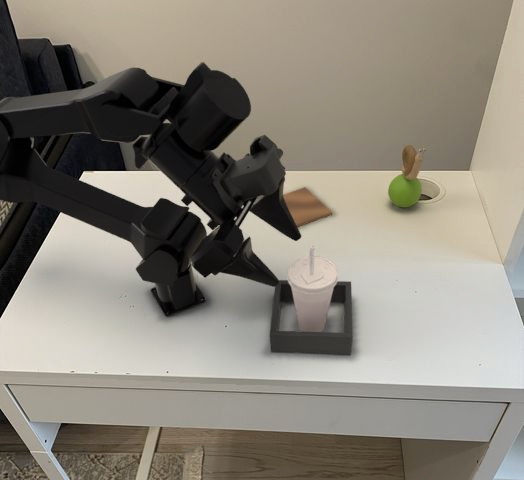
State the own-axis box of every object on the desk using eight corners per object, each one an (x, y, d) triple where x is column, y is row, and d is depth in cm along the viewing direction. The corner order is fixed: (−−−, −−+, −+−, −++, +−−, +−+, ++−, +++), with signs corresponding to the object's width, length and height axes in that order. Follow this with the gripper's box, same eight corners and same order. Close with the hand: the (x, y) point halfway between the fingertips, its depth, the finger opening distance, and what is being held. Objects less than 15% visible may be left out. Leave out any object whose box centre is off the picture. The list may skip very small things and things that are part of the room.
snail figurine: (395, 219, 91) (405, 152, 82) (381, 198, 95) (390, 132, 86) (426, 214, 91) (440, 146, 82) (411, 193, 95) (423, 127, 86)
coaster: (332, 214, 93) (332, 212, 92) (286, 231, 90) (286, 229, 90) (305, 189, 98) (305, 187, 98) (260, 204, 96) (260, 202, 95)
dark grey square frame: (349, 299, 79) (351, 281, 76) (350, 355, 72) (352, 337, 69) (276, 297, 80) (275, 279, 77) (270, 352, 73) (269, 334, 70)
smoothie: (282, 336, 75) (279, 256, 64) (296, 305, 79) (295, 224, 68) (328, 346, 73) (332, 265, 63) (339, 313, 77) (345, 232, 67)
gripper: (202, 175, 52) (312, 283, 57) (265, 89, 63) (353, 187, 69) (146, 230, 60) (248, 320, 65) (211, 145, 71) (293, 228, 76)
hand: (288, 260), depth 69 cm, fingers open, 9 cm apart
